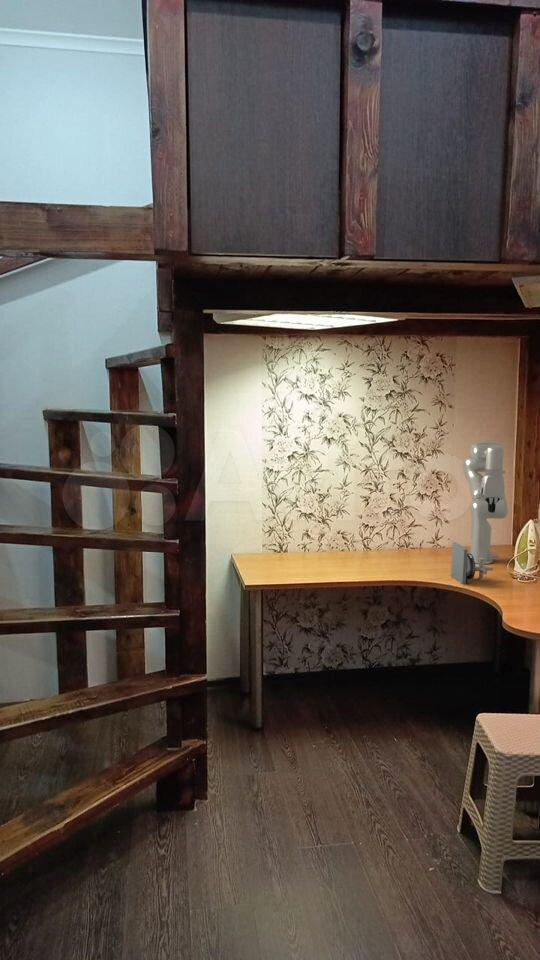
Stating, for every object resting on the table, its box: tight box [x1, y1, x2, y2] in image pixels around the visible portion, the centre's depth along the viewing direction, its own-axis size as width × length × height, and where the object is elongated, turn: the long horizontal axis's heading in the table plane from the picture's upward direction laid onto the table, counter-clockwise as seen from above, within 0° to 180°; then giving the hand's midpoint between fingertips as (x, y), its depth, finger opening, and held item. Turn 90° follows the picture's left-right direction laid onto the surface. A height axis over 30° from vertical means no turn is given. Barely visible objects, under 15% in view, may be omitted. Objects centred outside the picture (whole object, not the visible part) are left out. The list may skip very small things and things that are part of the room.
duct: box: [466, 552, 476, 579], centre depth 296 cm, size 4×12×12 cm, turn 7°
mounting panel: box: [450, 541, 473, 585], centre depth 296 cm, size 6×13×16 cm, turn 7°
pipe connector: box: [475, 558, 494, 581], centre depth 297 cm, size 10×10×10 cm
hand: (491, 512), depth 306 cm, fingers closed
